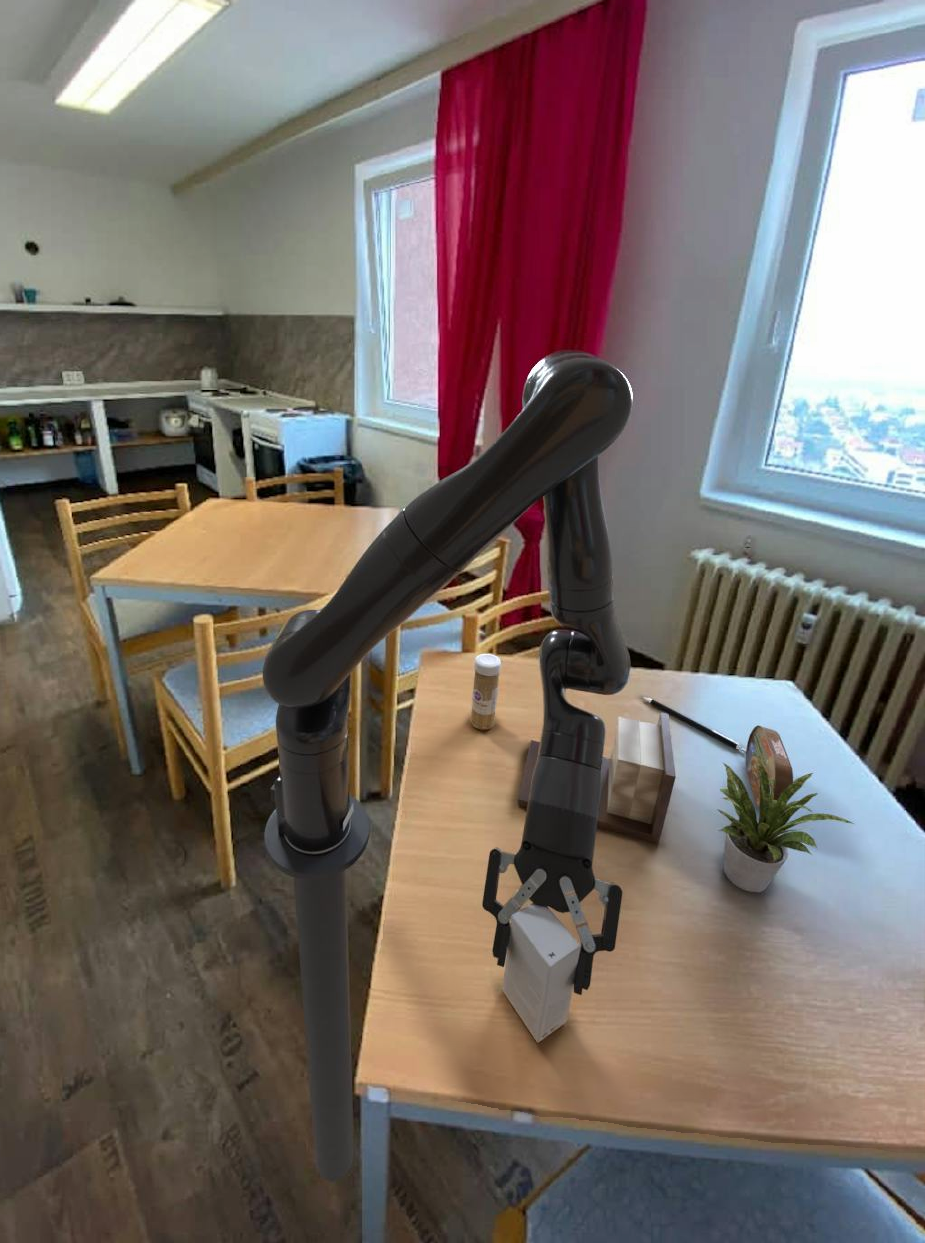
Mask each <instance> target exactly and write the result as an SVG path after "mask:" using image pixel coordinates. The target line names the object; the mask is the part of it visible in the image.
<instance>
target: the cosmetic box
mask: <svg viewBox="0 0 925 1243" xmlns="http://www.w3.org/2000/svg"><path fill="white" fill-rule="evenodd" d="M580 948H581V943H580V942H579V941H577V939H576V938H575V937H574V935H573V934H571V932H570V931H569V930H568V928H567V927H566V926H565V925H564V924H563V922H561V920H560V919H559V918H558V917H557V916H556V915H555V913H554V912H553V911H552V910H551V909H550V907H549V906H539V905H536V904H534V903H533V902H532V903H530V904H528V905H527V906H525V907H523V908H522V909H521V908H520V909H519V910H518V911H517V912H516V913H514V914H512V915H511V919H510V932H509V940H508V947H507V953H506V960H505V965H504V973H503V981H502V988H501V990H502V992H503V994H504V995H505V997H506V998H507V999H508V1001H509V1003H510V1004H511V1006H512V1007H513V1009H514V1010H515V1012H516V1013H517V1015H518V1017H519V1018H520V1019H521V1021H522V1022H523V1024H524V1025H525V1027H526V1028H527V1030H528V1031H529V1033H530V1034H531V1035H532V1037H533V1039H534V1040H535V1042H536V1043H538V1044H539V1043H540V1042H541V1041H543V1040H544V1039H546V1038H547V1037H548V1036H549V1035H551V1034H552V1033H554V1032H555V1031H556V1030H558V1029H559V1028H560V1027H562V1026H564V1025H565V1024H566V1023H567V1021H568V1016H569V1013H570V1012H569V1011H570V1006H571V1001H572V996H573V992H574V980H575V975H576V969H577V964H578V959H579V954H580Z"/></svg>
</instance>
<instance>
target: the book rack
mask: <svg viewBox="0 0 925 1243" xmlns="http://www.w3.org/2000/svg"><path fill="white" fill-rule="evenodd" d="M669 714H670V713H667V712H659V717H658V720H657V724H656V723H649V722H646V721H641V720H638V719H637V720H636V719H632V718H627V717H623V716H618V717H617V722H616V727H615V733H614V737H613V742H612V748H611V753H610V758H609V757H604V756H603V759H602V767H601V770H600V771H601V797H600V805H599V806H600V808H599V813H598V821H597V828H601V829H605V830H606V831H607V830H608V831H610V832H611V831H612V832H615V833H618V834H622V835H626V836H628V837H634V838H637V839H641V840H644V841H648V842H651V843H655V844H660V840H661V837H662V833H663V829H664V825H665V821H666V817H667V813H668V809H669V805H670V802H671V797H672V793H673V790H674V786H675V782H676V778H677V776H676V766H675V759H674V758H675V757H674V750H673V741H672V732H671V722H670V715H669ZM529 742H530V743H529V747H528V751H527V752H528V753H527V755H526V756H527V757H526V760H525V766H524V770H523V774H522V780H521V784H520V789H519V793H518V798H517V806H520V807H523V808H526V809H527V806H528V799H529V790H530V787H531V781H532V776H533V772H534V769H535V765H536V762H537V758H538V756H539V755H538V752H539V745H540V741H537V740H534V739H530V741H529Z"/></svg>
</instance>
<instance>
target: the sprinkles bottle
mask: <svg viewBox="0 0 925 1243" xmlns="http://www.w3.org/2000/svg"><path fill="white" fill-rule="evenodd" d="M473 668H474V677H473V689H472V697H471V713H470V719H469V721H470V723H471V725H472V726H473V727H474V728H476V729H477V730H483V731H485V730H489V729H491V728H494V726H495V724H496V711H497V704H498V703H497V702H498V694H499V679H500V673H501V670H502V660H501V659H500V657H499V656H497V655H495V654H492V653H481V654H478V655H477V656H476V657H475V659H474V666H473Z"/></svg>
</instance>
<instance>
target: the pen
mask: <svg viewBox="0 0 925 1243" xmlns="http://www.w3.org/2000/svg"><path fill="white" fill-rule="evenodd" d="M643 699H645V700H646V701H647V702H648V703H649V704H650V705H652V706H654V707H656V708H658V709H660V710H662V711H664V712H665V713H667V714H670V715H672V716H673V717H675V718H677V719H679V720H681V721H683V722H684V723H687V724H689V725H690V726H692V727H694V728H696V729H698V730H700V731H702V732H703V733H705V734H708V735H709V736H711V737H713V738H715V739H716V740H718V741H720V742H722V743H724V744H726V745H728V746H730V747H732V748H734V749H735V750H740V751H742V752H744V753H746V749H745V748H743V747H741V743H739V742H737V741H735V740H733V739H732V738H730V737H728V736H726V735H724V734H722V733H720V732H718V731H716V730H714V729H711V728H708V727H706V726H704V725H703V724H701V723H699V722H697V721H695V720H693V719H692V718H689V717H687V716H686V715H684V714H682V713H680V712H678V711H676V710H675V709H672V708H670V707H668V706H666V705H665V704H662V703H661V702H659V701H657V700H656V699H653V698H650V697H647V696H643Z"/></svg>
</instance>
